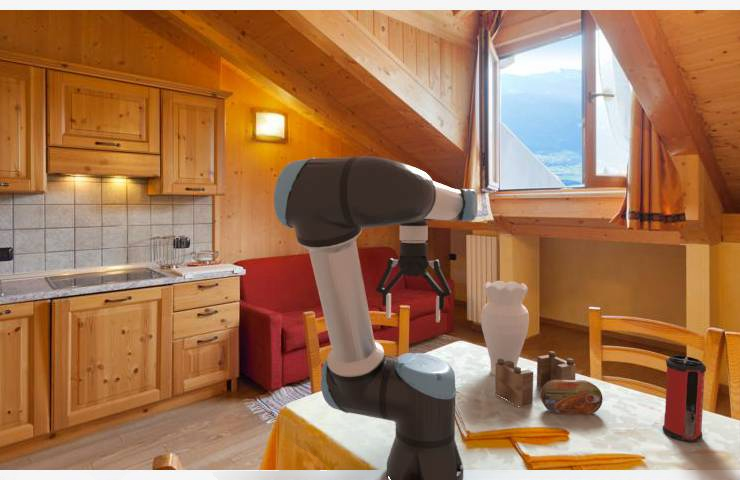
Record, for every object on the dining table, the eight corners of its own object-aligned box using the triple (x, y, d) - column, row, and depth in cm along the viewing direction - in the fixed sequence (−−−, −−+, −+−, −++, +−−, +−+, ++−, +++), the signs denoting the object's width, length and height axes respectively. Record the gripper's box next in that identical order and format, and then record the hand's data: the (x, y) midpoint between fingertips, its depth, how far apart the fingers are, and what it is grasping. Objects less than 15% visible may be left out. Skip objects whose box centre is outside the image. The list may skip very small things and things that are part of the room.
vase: (478, 379, 142) (480, 286, 140) (481, 363, 156) (482, 279, 154) (528, 384, 138) (531, 289, 136) (526, 368, 152) (529, 281, 150)
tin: (542, 413, 119) (542, 381, 118) (538, 408, 122) (539, 377, 122) (602, 415, 118) (603, 383, 117) (597, 410, 121) (598, 379, 120)
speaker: (664, 423, 113) (668, 352, 112) (703, 433, 108) (707, 358, 107) (660, 435, 107) (663, 360, 106) (700, 446, 103) (705, 367, 101)
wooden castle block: (575, 395, 130) (576, 360, 129) (517, 407, 122) (518, 370, 122) (550, 383, 139) (551, 350, 138) (494, 393, 131) (495, 358, 131)
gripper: (461, 241, 124) (460, 319, 125) (372, 239, 131) (372, 313, 132) (459, 243, 117) (458, 326, 118) (365, 241, 123) (365, 319, 125)
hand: (412, 319), depth 125 cm, fingers open, 13 cm apart
